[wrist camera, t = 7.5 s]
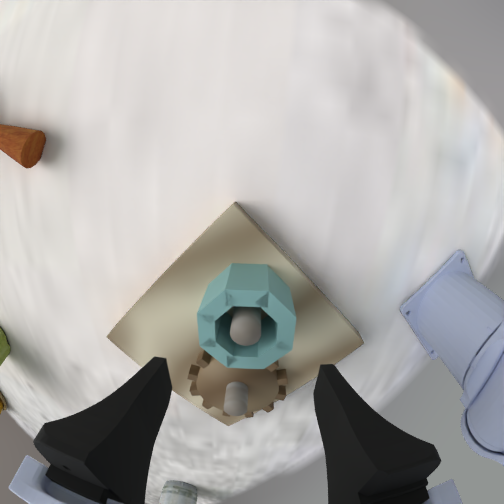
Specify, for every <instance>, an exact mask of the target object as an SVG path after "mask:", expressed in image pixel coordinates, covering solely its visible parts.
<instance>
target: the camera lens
mask: <svg viewBox="0 0 504 504" xmlns="http://www.w3.org/2000/svg"><path fill="white" fill-rule="evenodd" d="M196 502H197V489H196V488H195V487H194V486H192V485H190V484H187V483H184V482H180V481H167V482H166V484H165V485H164V487H163V489H162V493H161V497H160V501H159V504H196Z"/></svg>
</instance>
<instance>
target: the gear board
mask: <svg viewBox="0 0 504 504" xmlns="http://www.w3.org/2000/svg"><path fill="white" fill-rule="evenodd" d="M232 263H241V264H267V265H268V266H269V267H270V268H271V269H272V270H273V271H274V272H275V273H276V274H277V275H278V276H279V277H280V278H281V279H282V280H283V281H284V282H285V283H286V284H287V285H288V286H289V287H290V292H291V296H292V300H293V305H294V309H295V314H296V325H295V333H294V341H293V348H292V350H291V351H290V352H288V353H287V354H285V355H284V356H283V357H281V358H280V359H278V360H277V361H275V362H274V363H272V364H271V365H269V366H268V367H266V368H265V369H245V368H227V367H226V366H224V365H223V364H222V363H220V362H219V361H218V360H216V359H215V358H214V357H213V356H211V355H210V354H209V353H208V352H206V351H205V350H204V349H203V348H201V347H200V345H199V334H198V323H197V312H198V310H199V307H200V304H201V302H202V299H203V297H204V294H205V292H206V289H207V287H208V284H209V283H210V282H212V281H213V280H214V279H215V278H216V277H217V276H218V275H219V274H220V273H222V272H223V271H224V270H225V269H226V268H227V267H228V266H229V265H230V264H232ZM226 312H227V313H228V314H229V315H230V316H231V317H232V322H231V328H230V336H231V338H232V340H233V341H234V342H236V343H237V344H239V345H243V346H249V345H253V344H255V343H256V342H258V340H259V339H260V337H261V320H262V319H264V318H265V317H266V316H267V315H268V314H267V313H266V312H265V311H264V310H263V309H262V308H261V307H243V306H232V307H231V308H230V309H229V310H228V311H226ZM107 338H108V339H109V340H110V341H111V342H113V343H114V344H115V345H116V346H117V347H118V348H119V349H121V350H122V351H123V352H124V353H125V354H126V355H128V356H129V357H130V358H131V359H132V360H134V361H135V362H136V363H137V364H138V365H140V366H141V367H142V368H143V367H144V366H145V365H146V364H147V363H148V362H149V361H150V360H151V359H152V358H153V357H154V356H155V357H162V358H166V359H167V364H168V369H169V374H170V379H171V383H172V390H173V391H174V392H176V393H177V394H178V395H180V396H181V397H183V398H184V399H186V400H187V401H189V402H190V403H192V404H193V405H195V406H196V407H198V408H199V409H201V410H203V411H204V412H206V413H207V414H209V415H211V416H212V417H214V418H215V419H217V420H219V421H220V422H222V423H224V424H226V425H227V426H230V425H232V424H234V423H236V422H238V421H240V420H242V419H244V418H248V417H253V414H254V413H256V412H258V411H259V410H261V409H263V410H264V411H266V412H270V411H272V410H273V409H274V404H273V403H274V402H276V401H278V400H284V399H285V397H286V395H288V394H290V393H291V392H293V391H295V390H296V389H298V388H299V387H301V386H303V385H304V384H306V383H307V382H309V381H311V380H312V379H314V378H315V377H317V376H318V373H319V368H320V365H321V364H333V365H335V364H336V363H338V362H339V361H340V360H342V359H343V358H345V357H346V356H347V355H349V354H350V353H352V352H353V351H354V350H356V349H357V348H358V347H360V346H361V345H362V344H364V342H363V340H362V338H361V336H360V334H359V333H358V331H357V330H356V329H355V328H354V327H353V326H352V325H351V324H350V323H349V321H348V320H347V319H346V318H345V317H344V316H343V315H342V314H341V313H340V312H339V311H338V309H337V308H336V307H335V306H334V305H333V304H332V303H331V302H330V301H329V300H328V299H327V297H326V296H325V295H324V294H323V293H322V292H321V291H320V290H319V289H318V288H317V287H316V286H315V285H314V283H313V282H312V281H311V280H310V279H309V278H308V277H307V276H306V275H305V274H304V273H303V272H302V271H301V270H300V269H299V267H298V266H297V265H296V264H295V263H294V262H293V261H292V260H291V259H290V258H289V257H288V256H287V255H286V254H285V253H284V252H283V251H282V249H281V248H280V247H279V246H278V245H277V244H276V243H275V242H274V241H273V240H272V239H271V238H270V237H269V236H268V235H267V234H266V233H265V232H264V231H263V230H262V229H261V228H260V227H259V226H258V224H257V223H256V222H255V221H254V220H253V219H252V218H251V217H250V216H249V215H248V214H247V213H246V212H245V211H244V210H243V209H242V208H241V207H240V206H239V205H238V204H237V203H236V202H234V203H233V204H232V205H231V206H230V207H229V208H228V209H227V210H226V211H225V212H224V213H223V214H222V215H221V216H220V217H219V218H218V219H217V220H216V221H215V222H214V223H212V224H211V225H210V226H209V227H208V228H207V229H206V230H205V231H204V232H203V233H202V234H201V235H200V236H199V237H198V238H197V239H196V240H195V241H194V242H193V243H192V244H191V245H190V246H189V247H188V248H187V250H186V251H185V252H184V253H183V254H182V255H181V256H180V257H179V258H178V259H177V260H176V261H175V262H174V263H173V264H172V265H171V266H170V267H169V268H168V269H167V270H166V271H165V272H164V273H163V274H162V275H161V276H160V278H159V279H158V280H157V281H156V282H155V283H154V284H153V285H152V286H151V287H150V288H149V289H148V290H147V291H146V292H145V294H144V295H143V296H142V297H141V298H140V299H139V300H138V301H137V302H136V303H135V304H134V306H133V307H132V308H131V309H130V310H129V311H128V312H127V313H126V314H125V315H124V317H123V318H122V319H121V320H120V321H119V322H118V323H117V324H116V326H115V327H114V328H113V329H112V330H111V332H110V333H109V334H108V336H107Z"/></svg>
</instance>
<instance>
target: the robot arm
mask: <svg viewBox="0 0 504 504" xmlns="http://www.w3.org/2000/svg"><path fill="white" fill-rule="evenodd" d="M461 258H462V260H461ZM400 311H401V313H402V314H403V316H404V317H405V319H406V320H407V322H408V323H409V325H410V326H411V328H412V329H413V331H414V332H415V334H416V336H417V337H418V339H419V340H420V342H421V343H422V345H423V346H424V348H425V350H426V351H427V353H428V354H429V356H430V358H431V359H432V360H434V359H436V358H437V357H440V359H441V360H442V361H443V363H444V364H445V365H446V367H447V368H448V369H449V371H450V372H451V373H452V375H453V376H454V378H455V379H456V380H457V382H458V383H459V385H460V386H461V387H462V389H463V390H464V392H463V395H462V396H461V398H460V401H461V402H462V403H463V405H464V407H465V408H466V409H465V410H464V412H463V414H462V417H461V430H462V434H463V436H464V439H465V441H466V442H467V444H468V445H469V447H470V448H471V449H472V450H473V451H474V452H476V453H477V454H479V455H481V456H482V457H485V458H489V459H493V460H495V461H497V462H499V463H500V464H502V465H503V466H504V300H503V299H502V298H500V297H499V296H498V295H496V294H495V293H494V292H492V291H491V290H489V289H488V288H487V287H485V286H484V285H482V284H481V283H480V282H478V281H477V280H475V279H474V277H473V274H472V271H471V269H470V266H469V264H468V261H467V259H466V256H465V254H464V252H463V251H462V250H458V251H456V253H455V254H454V255H453V256H452V257H451V258H450V259H449V260H448V261H447V262H446V263H445V264H444V265H443V266H442V267H441V268H440V269H439V270H438V272H437V273H436V274H435V275H434V276H433V277H432V278H430V279H429V280H428V281H427V282H426V283H425V284H424V285H423V286H422V287H421V288H420V289H419V290H418V291H417V292H416V293H415V294H414V295H413V296H412V297H410V298H409V299H408V300H407V301H406V302H405V303H404V304H403V305H402V306H401V308H400ZM408 311H409V312H408ZM407 312H408V313H407ZM406 313H407V314H406ZM171 392H172V383H171V379H170V374H169V369H168V364H167V359H166V358H162V357H155V356H154V357H153V358H152V359H151V360H150V361H149V362H148V363H147V364H146V365H145V366H144V367H143V368H141V369H140V370H139V371H138V372H137V373H136V374H135V375H134V376H133V377H132V378H130V379H129V380H128V381H127V382H126V383H125V384H124V385H122V386H121V387H120V388H118V389H117V390H116V391H115V392H113V393H112V394H111V395H109V396H108V397H106V398H105V399H103V400H102V401H100V402H98V403H97V404H95V405H93V406H91V407H89V408H87V409H85V410H83V411H81V412H79V413H76V414H74V415H71V416H68V417H66V418H63V419H59V420H55V421H52V422H48V423H45V424H44V425H43V427H42V428H41V430H40V431H39V433H38V434H37V436H36V438H35V439H34V445H35V447H36V448H37V450H38V451H39V452H40V453H41V454H42V455H43V456H44V457H45V458H46V460H47V461H48V462H49V463H50V464H51V465H50V467H49V468H48V467H46V466H45V465H43V464H42V463H40V462H38V461H36V460H35V459H33V458H32V457H30V456H28V455H26V457H25V459H24V460H23V462H22V464H21V466H20V467H19V469H18V471H17V473H16V475H15V476H14V478H13V480H12V482H11V484H10V486H9V489H10V490H11V491H12V492H14V493H15V494H16V495H18V496H19V497H20V498H22V499H23V500H24V501H26V502H27V503H28V504H144V503H145V492H146V484H147V477H148V471H149V466H150V460H151V456H152V451H153V447H154V443H155V440H156V437H157V435H158V432H159V429H160V426H161V424H162V421H163V418H164V416H165V413H166V410H167V408H168V405H169V401H170V396H171ZM313 394H314V404H315V412H316V416H317V420H318V425H319V429H320V433H321V437H322V441H323V445H324V450H325V456H326V466H327V479H328V504H463V503H462V500H461V498H460V495H459V493H458V490H457V488H456V486H455V483H454V481H453V480H452V479H450V480H448V481H446V482H444V483H442V484H439V485H437V486H435V487H433V488H431V489H429V490H428V491H427V489H426V486H427V485H428V481H427V477H428V476H429V475H430V474H431V473H432V472H433V471H434V470H435V469H436V468H437V467H438V466H439V464H440V462H441V459H440V457H439V454H438V452H437V450H436V448H435V446H434V445H433V444H430V443H428V442H425V441H422V440H420V439H418V438H416V437H414V436H412V435H410V434H408V433H406V432H404V431H402V430H401V429H399V428H397V427H396V426H394V425H393V424H391V423H390V422H388V421H386V419H384V418H383V417H382V416H380V415H379V414H378V413H377V412H375V411H374V410H373V409H372V408H371V407H370V406H369V405H368V404H367V403H366V402H365V401H364V400H363V399H362V398H361V397H360V396H359V395H358V394H357V393H356V392H355V390H354V389H353V388H352V387H351V386H350V385H349V383H348V382H347V381H346V380H345V379H344V377H343V376H342V375H341V373H340V372H339V371H338V370H337V368H336V367H335V366H334V365H333V364H321V365H320V368H319V373H318V377H317V381H316V385H315V389H314V393H313Z"/></svg>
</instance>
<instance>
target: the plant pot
mask: <svg viewBox="0 0 504 504" xmlns="http://www.w3.org/2000/svg"><path fill="white" fill-rule="evenodd" d="M9 353H10V346H9V345H8V343H7V339H6V336H5V334H4V332H3V331H2V329H1V328H0V366H1V364H2V363H3V361H4V360H5V359H6V357H7V356H8V354H9Z"/></svg>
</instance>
